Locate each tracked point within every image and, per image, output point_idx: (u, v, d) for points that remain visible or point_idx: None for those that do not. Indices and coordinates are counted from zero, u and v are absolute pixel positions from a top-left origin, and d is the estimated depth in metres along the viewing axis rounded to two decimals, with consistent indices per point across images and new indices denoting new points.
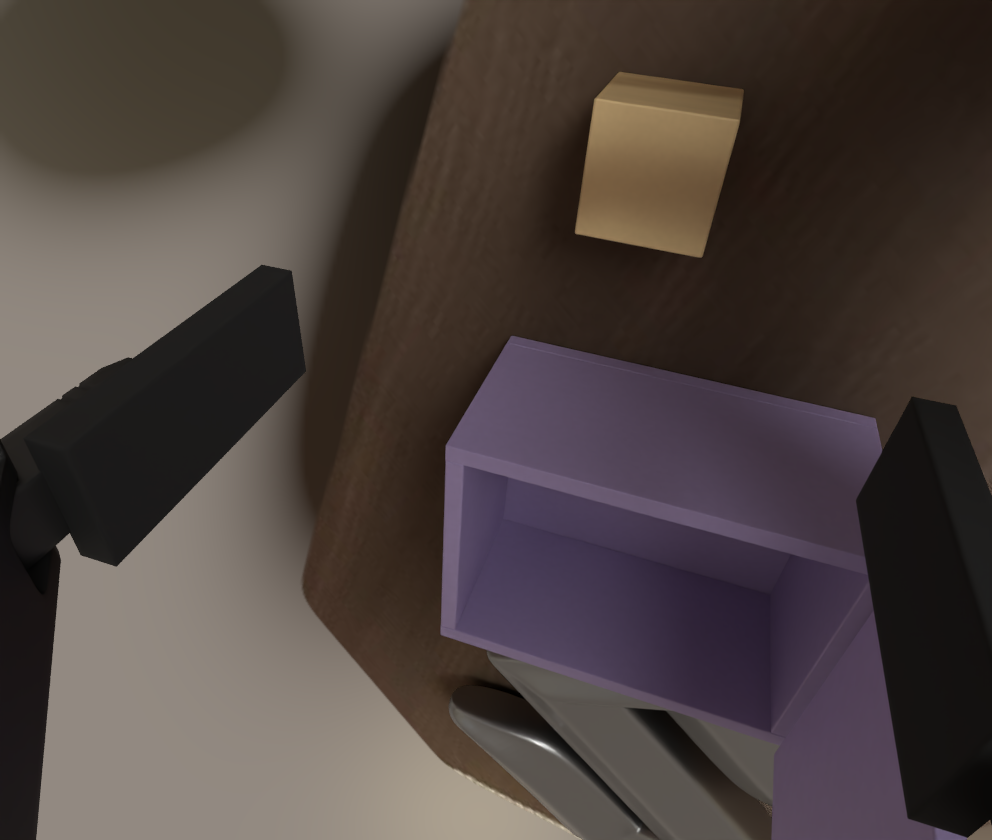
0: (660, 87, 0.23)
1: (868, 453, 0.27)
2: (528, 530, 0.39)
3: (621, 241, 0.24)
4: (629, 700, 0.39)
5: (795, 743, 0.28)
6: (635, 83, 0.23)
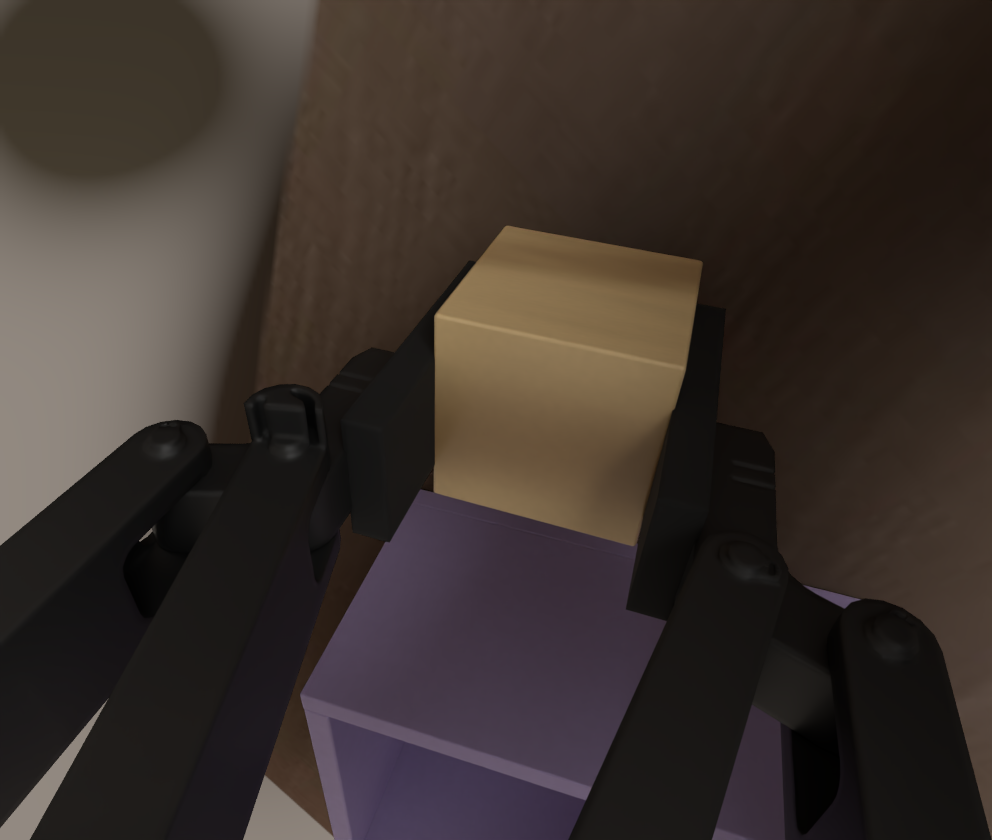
0: (562, 268, 0.14)
1: None
2: None
3: (506, 511, 0.14)
4: None
5: None
6: (523, 258, 0.14)
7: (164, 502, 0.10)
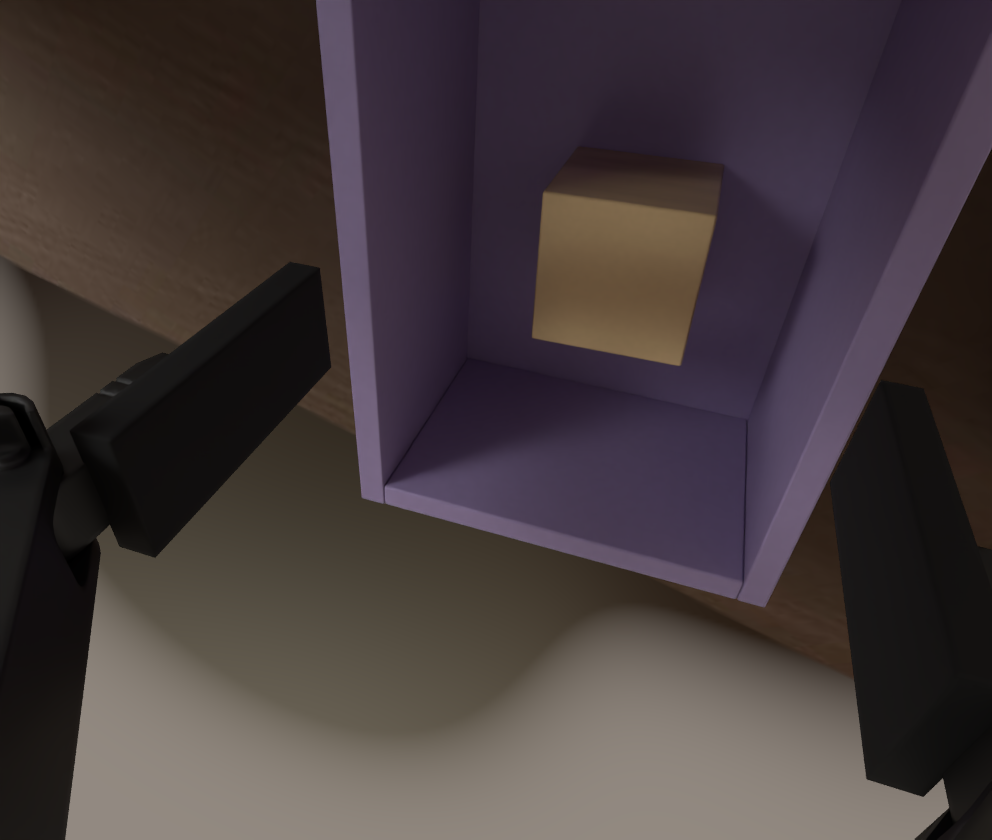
0: (624, 168, 0.19)
1: None
2: (760, 388, 0.24)
3: (585, 347, 0.20)
4: None
5: None
6: (595, 163, 0.20)
7: None
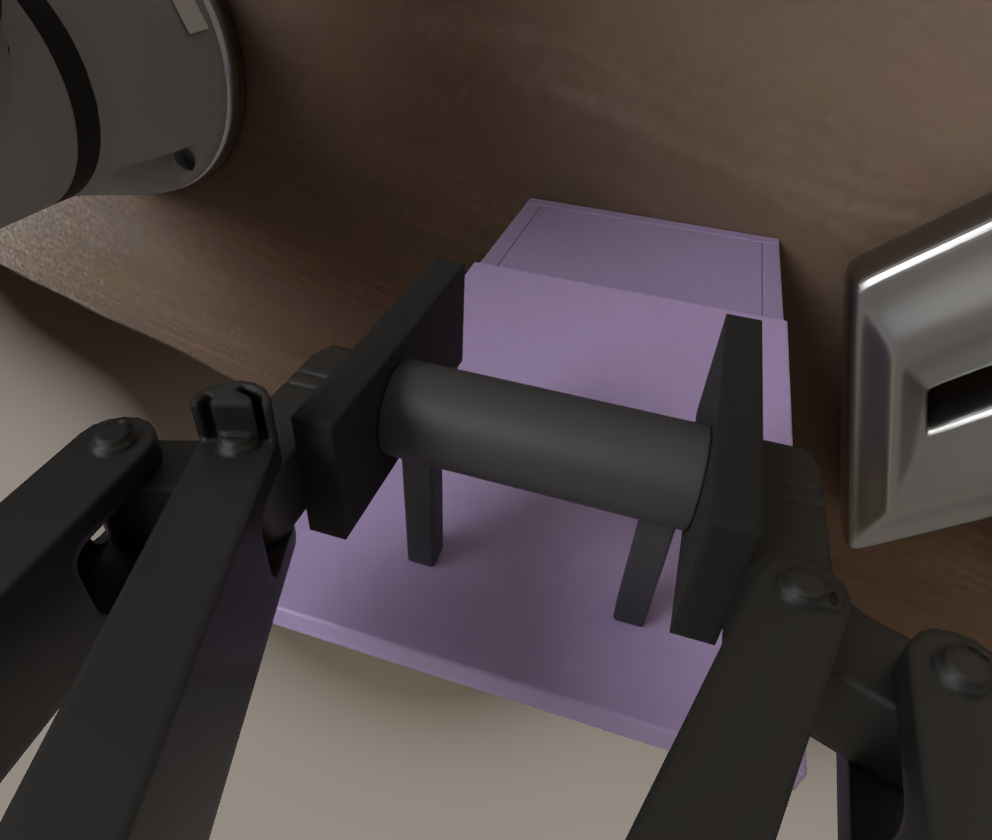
0: None
1: None
2: None
3: None
4: (885, 429, 0.32)
5: None
6: None
7: (116, 497, 0.10)
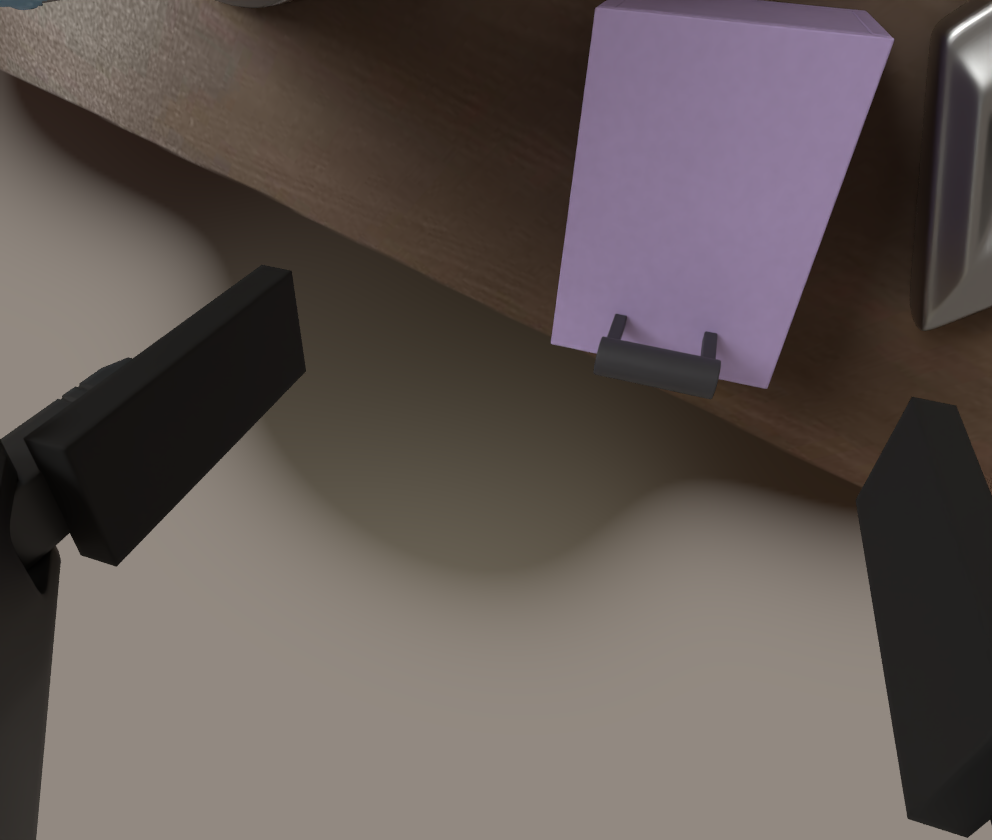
0: None
1: None
2: None
3: None
4: (968, 181, 0.34)
5: None
6: None
7: None
